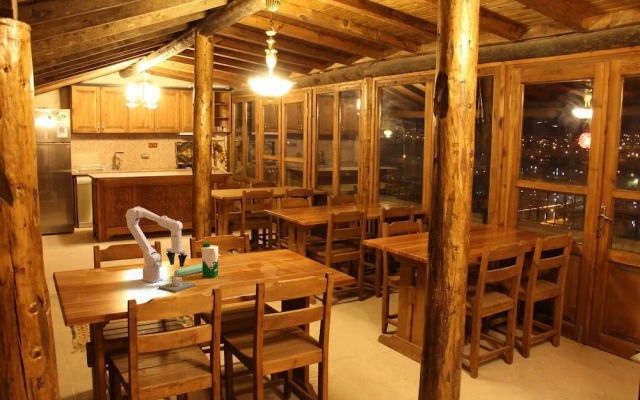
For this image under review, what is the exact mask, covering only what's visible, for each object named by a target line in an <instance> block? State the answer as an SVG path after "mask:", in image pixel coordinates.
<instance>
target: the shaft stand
mask: <svg viewBox="0 0 640 400" xmlns="http://www.w3.org/2000/svg"><path fill="white" fill-rule="evenodd" d="M175 279H179V278H175ZM193 287H196V283H194V282H189V281H185V280H182V286H178V287H174V286H172V281H171V282H169V283H165V284H163V285H158V290H162V291H163V290H164V291H166V292H167V291H168V292H171V293H178V292H181V291H185V290H187V289H190V288H193Z"/></svg>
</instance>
